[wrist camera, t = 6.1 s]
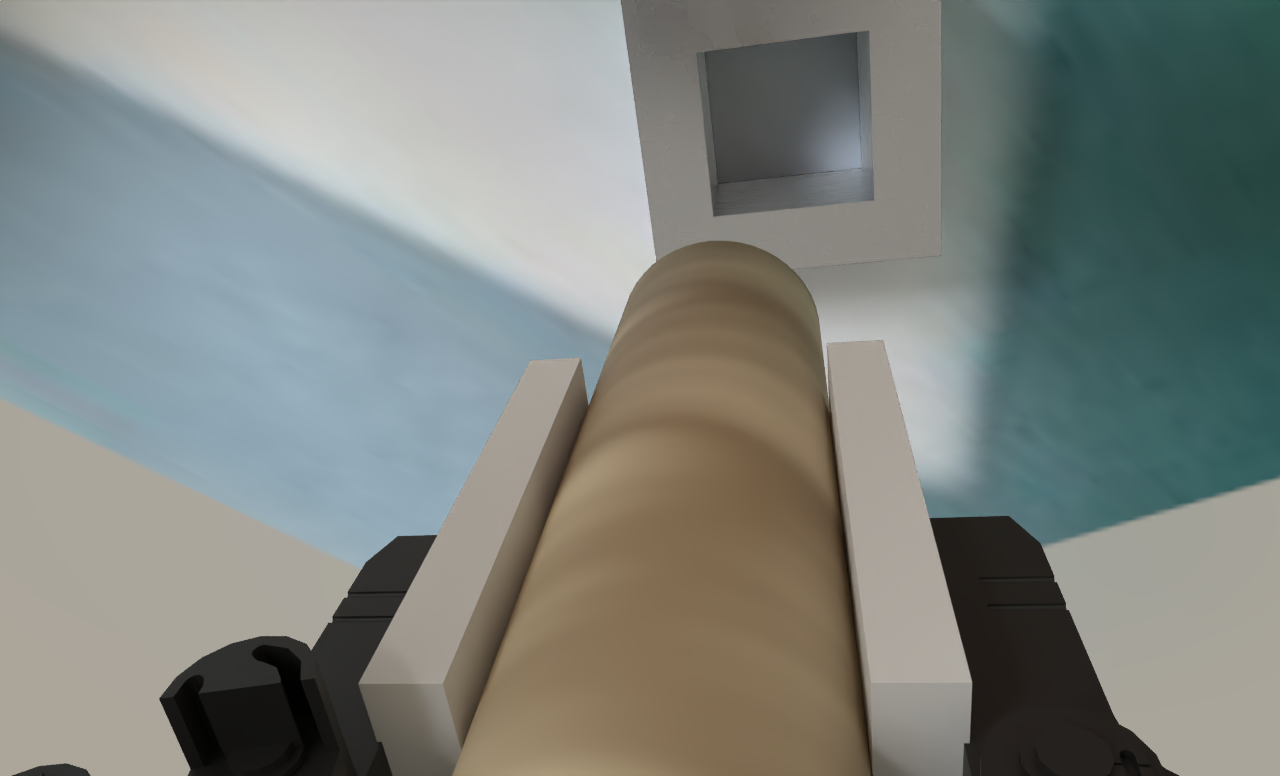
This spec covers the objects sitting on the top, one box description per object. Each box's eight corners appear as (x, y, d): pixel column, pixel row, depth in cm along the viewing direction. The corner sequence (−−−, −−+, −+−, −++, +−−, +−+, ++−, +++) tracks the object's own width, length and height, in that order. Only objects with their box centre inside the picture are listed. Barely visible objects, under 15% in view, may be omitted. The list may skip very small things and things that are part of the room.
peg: (633, 425, 18) (348, 1480, 6) (612, 246, 17) (170, 1173, 4) (821, 418, 18) (939, 1567, 5) (817, 234, 16) (969, 1254, 4)
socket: (669, 243, 35) (659, 281, 31) (635, -21, 31) (619, -11, 27) (921, 217, 34) (941, 255, 30) (919, -62, 30) (941, -57, 26)
